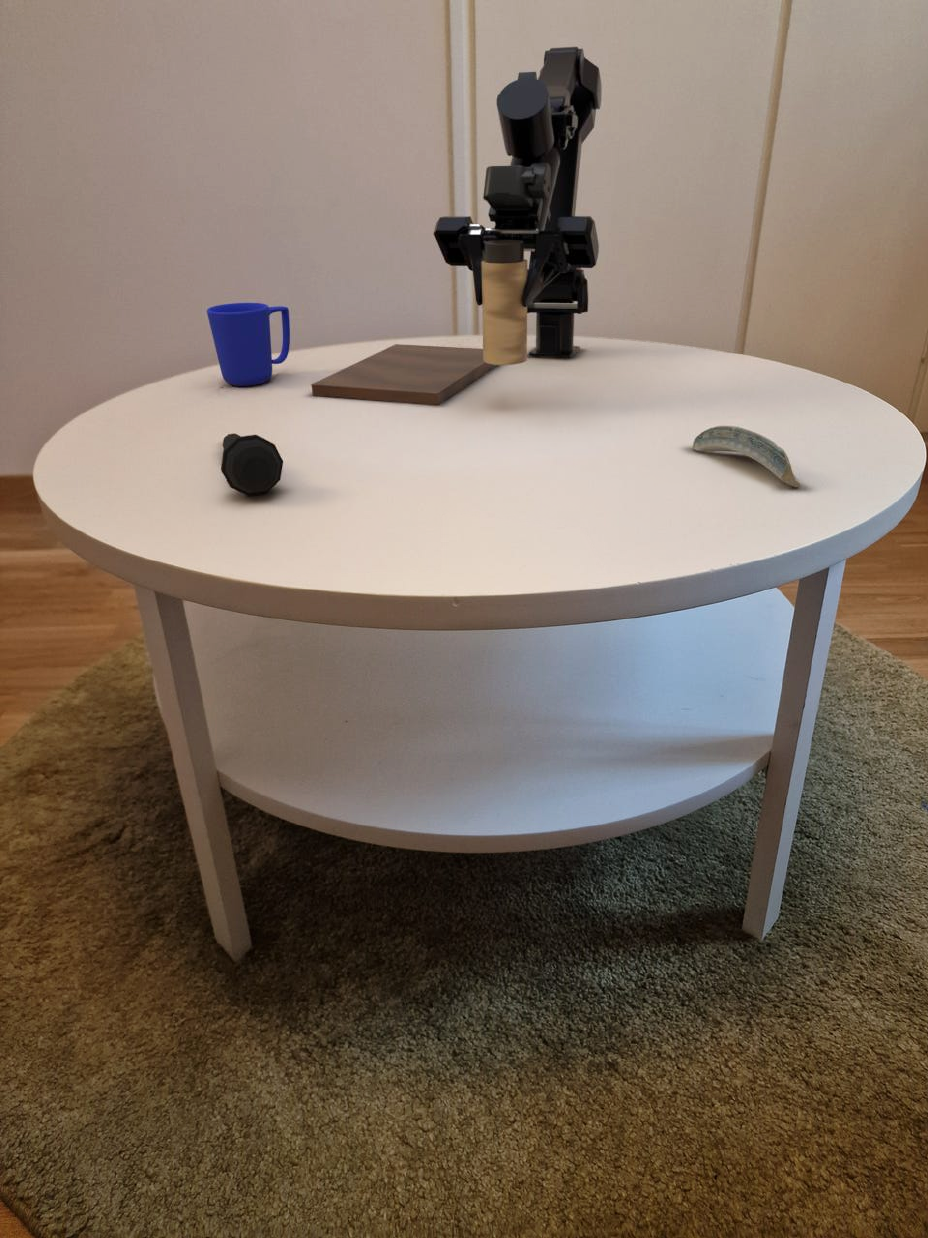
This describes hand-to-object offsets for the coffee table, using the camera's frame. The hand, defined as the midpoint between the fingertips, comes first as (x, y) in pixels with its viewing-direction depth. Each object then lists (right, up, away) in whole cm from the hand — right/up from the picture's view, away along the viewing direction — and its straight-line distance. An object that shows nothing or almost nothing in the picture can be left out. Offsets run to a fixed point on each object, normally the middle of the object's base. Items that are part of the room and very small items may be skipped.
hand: (500, 303), depth 97 cm
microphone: (-26, -21, -10) cm, 35 cm away
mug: (-33, -2, +24) cm, 41 cm away
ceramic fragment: (+23, -21, -14) cm, 34 cm away
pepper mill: (+1, -5, +4) cm, 7 cm away
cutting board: (-11, -2, +23) cm, 25 cm away
